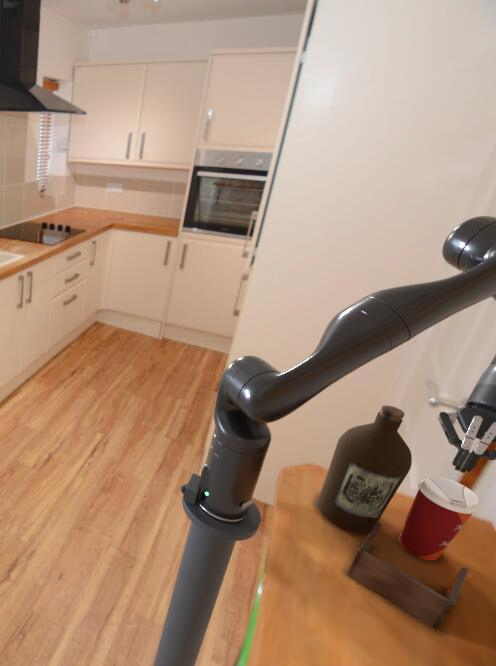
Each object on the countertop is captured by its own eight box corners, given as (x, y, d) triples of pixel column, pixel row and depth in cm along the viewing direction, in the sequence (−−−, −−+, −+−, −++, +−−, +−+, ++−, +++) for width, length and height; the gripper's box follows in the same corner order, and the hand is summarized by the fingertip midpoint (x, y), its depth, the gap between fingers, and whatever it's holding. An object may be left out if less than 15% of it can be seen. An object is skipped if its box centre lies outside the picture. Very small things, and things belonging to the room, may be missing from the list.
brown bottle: (311, 486, 97) (351, 387, 86) (373, 505, 92) (424, 403, 82) (315, 522, 89) (360, 417, 78) (383, 545, 84) (442, 437, 73)
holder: (346, 573, 79) (358, 550, 76) (365, 544, 84) (377, 521, 82) (437, 630, 70) (454, 605, 68) (452, 593, 76) (468, 569, 73)
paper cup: (453, 572, 79) (492, 514, 73) (398, 555, 82) (430, 498, 76) (436, 538, 85) (470, 481, 79) (385, 523, 88) (414, 468, 82)
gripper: (459, 371, 89) (416, 446, 88) (562, 402, 79) (515, 487, 78) (453, 385, 94) (413, 456, 93) (549, 416, 85) (506, 495, 83)
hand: (460, 470), depth 85 cm, fingers closed
